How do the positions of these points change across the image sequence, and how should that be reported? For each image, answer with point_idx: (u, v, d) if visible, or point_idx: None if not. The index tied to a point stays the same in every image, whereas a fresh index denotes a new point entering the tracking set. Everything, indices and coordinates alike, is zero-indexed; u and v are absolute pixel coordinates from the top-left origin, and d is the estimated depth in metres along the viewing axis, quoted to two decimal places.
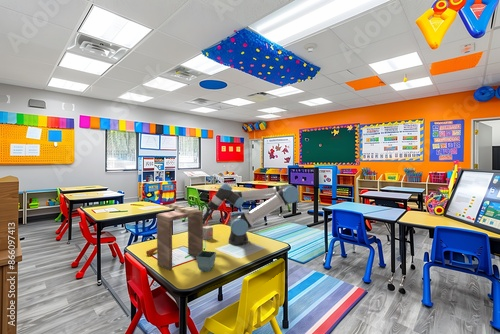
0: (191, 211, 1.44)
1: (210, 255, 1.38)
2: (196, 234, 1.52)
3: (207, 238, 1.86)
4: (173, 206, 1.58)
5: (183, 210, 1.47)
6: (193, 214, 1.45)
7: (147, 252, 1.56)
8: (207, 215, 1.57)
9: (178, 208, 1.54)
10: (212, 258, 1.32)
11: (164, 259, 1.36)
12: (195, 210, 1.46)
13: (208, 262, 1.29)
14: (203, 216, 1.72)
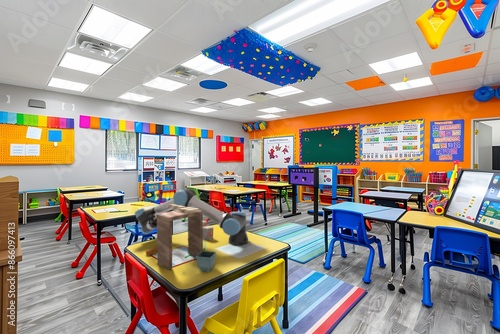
0: (191, 211, 1.44)
1: (210, 255, 1.38)
2: (196, 234, 1.52)
3: (207, 238, 1.85)
4: (173, 206, 1.58)
5: (183, 210, 1.47)
6: (193, 214, 1.45)
7: (147, 252, 1.55)
8: (148, 220, 1.67)
9: (178, 208, 1.54)
10: (212, 258, 1.32)
11: (164, 259, 1.36)
12: (195, 210, 1.46)
13: (208, 262, 1.29)
14: None
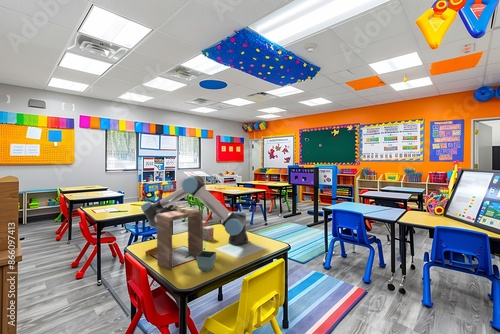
0: (191, 211, 1.44)
1: (210, 255, 1.38)
2: (196, 234, 1.52)
3: (208, 238, 1.85)
4: None
5: (183, 210, 1.47)
6: (193, 214, 1.45)
7: (146, 252, 1.55)
8: (161, 211, 1.59)
9: (178, 208, 1.54)
10: (212, 258, 1.32)
11: (164, 259, 1.36)
12: (195, 210, 1.46)
13: (208, 262, 1.29)
14: None
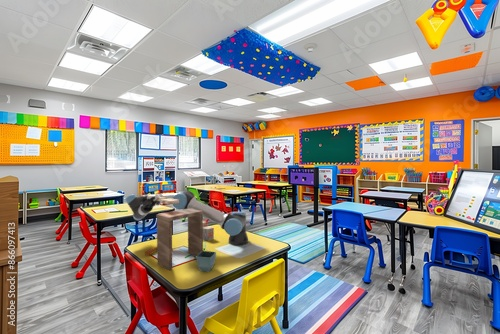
0: (171, 202, 1.46)
1: (210, 255, 1.38)
2: (196, 234, 1.52)
3: (208, 239, 1.84)
4: None
5: (163, 201, 1.49)
6: (193, 214, 1.45)
7: (146, 252, 1.55)
8: (144, 203, 1.62)
9: (159, 199, 1.56)
10: (212, 258, 1.32)
11: (164, 259, 1.36)
12: (175, 201, 1.48)
13: (208, 262, 1.29)
14: None
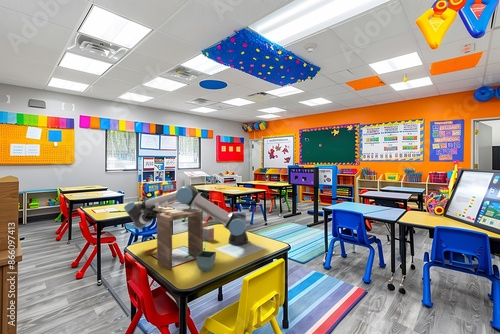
0: (175, 214, 1.36)
1: (210, 255, 1.38)
2: (196, 234, 1.52)
3: (208, 239, 1.84)
4: (158, 208, 1.49)
5: (167, 213, 1.38)
6: (193, 214, 1.45)
7: (145, 252, 1.55)
8: (144, 212, 1.51)
9: (163, 210, 1.46)
10: (212, 258, 1.32)
11: (164, 259, 1.36)
12: (180, 213, 1.38)
13: (208, 262, 1.29)
14: None
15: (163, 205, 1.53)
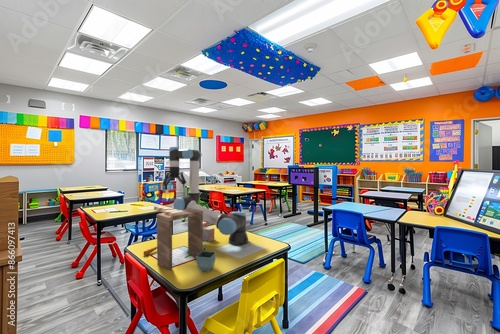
0: (175, 214, 1.36)
1: (210, 255, 1.38)
2: (196, 234, 1.52)
3: (209, 239, 1.83)
4: (158, 208, 1.49)
5: (167, 213, 1.38)
6: (193, 214, 1.45)
7: (144, 253, 1.55)
8: (165, 177, 1.81)
9: (163, 210, 1.46)
10: (212, 258, 1.32)
11: (164, 259, 1.36)
12: (180, 213, 1.38)
13: (208, 262, 1.29)
14: (181, 183, 1.94)
15: (181, 186, 1.92)
